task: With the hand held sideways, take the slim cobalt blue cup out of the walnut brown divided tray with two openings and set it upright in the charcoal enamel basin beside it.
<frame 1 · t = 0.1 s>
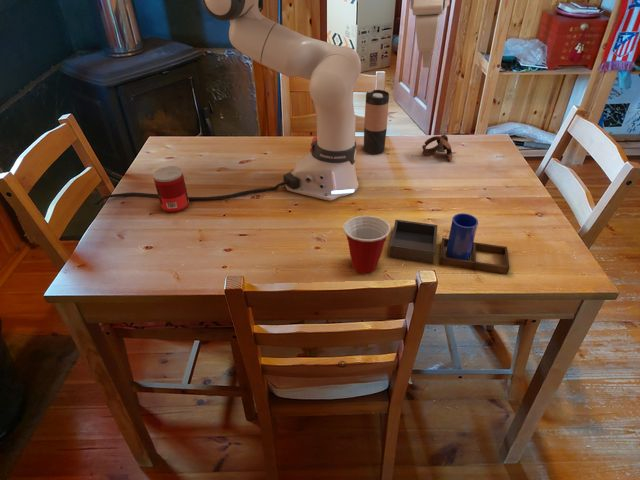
hand: (427, 60, 112), 39 cm above the table, tool pointing down, fingers open, 8 cm apart
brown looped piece: (437, 157, 154), on the table
plastic cup: (364, 266, 111), on the table
basin: (412, 246, 116), on the table
brown divided tray: (472, 258, 112), on the table
canned food: (175, 206, 133), on the table
blue cup: (457, 256, 113), resting in brown divided tray
travel mug: (373, 150, 159), on the table
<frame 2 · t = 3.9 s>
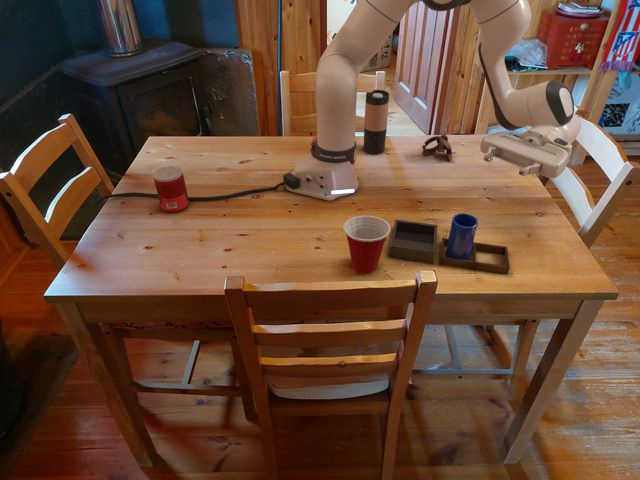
hand: (503, 165, 106), 21 cm above the table, tool horizontal, fingers open, 8 cm apart
nothing on the table moved.
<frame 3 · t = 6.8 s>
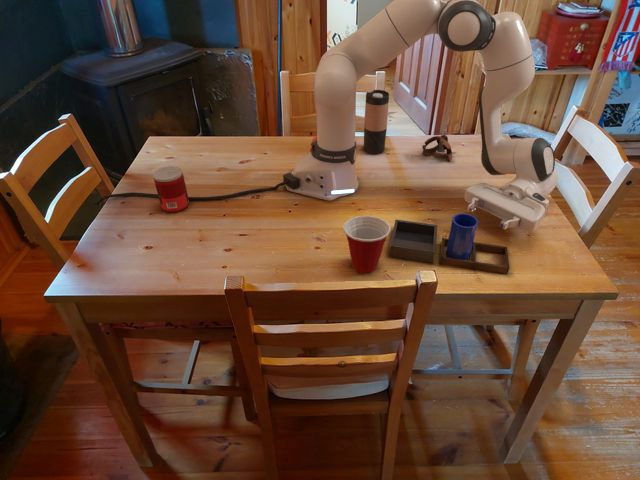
hand: (485, 217, 113), 7 cm above the table, tool horizontal, fingers open, 8 cm apart
nothing on the table moved.
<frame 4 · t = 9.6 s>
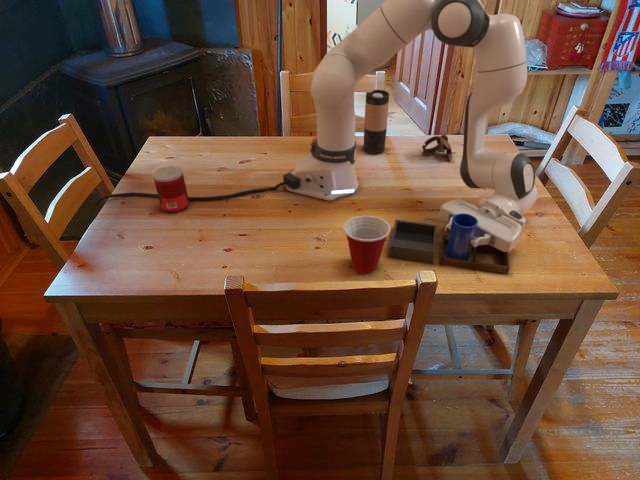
hand: (459, 236, 108), 7 cm above the table, tool horizontal, fingers closed on blue cup, 6 cm apart
blue cup: (457, 256, 113), resting in brown divided tray, touching gripper
everything else where it was.
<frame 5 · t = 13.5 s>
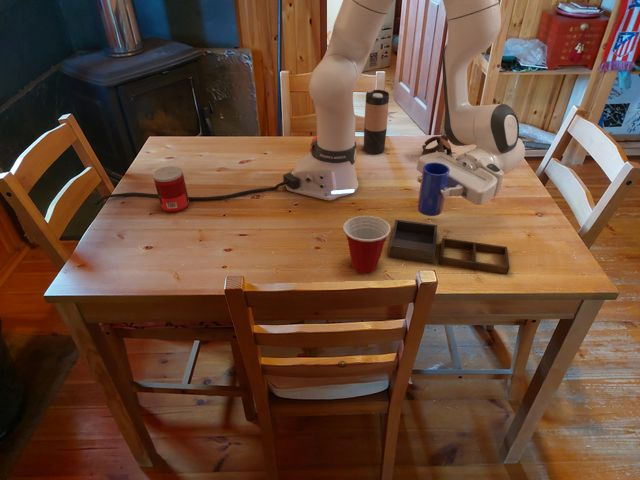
hand: (430, 186, 104), 19 cm above the table, tool horizontal, fingers closed on blue cup, 6 cm apart
blue cup: (429, 209, 108), point 12 cm above the table, touching gripper
everything else where it was.
when the fingers open (7 cm above the table, at t = 17.8 s): blue cup stays where it is, resting on basin.
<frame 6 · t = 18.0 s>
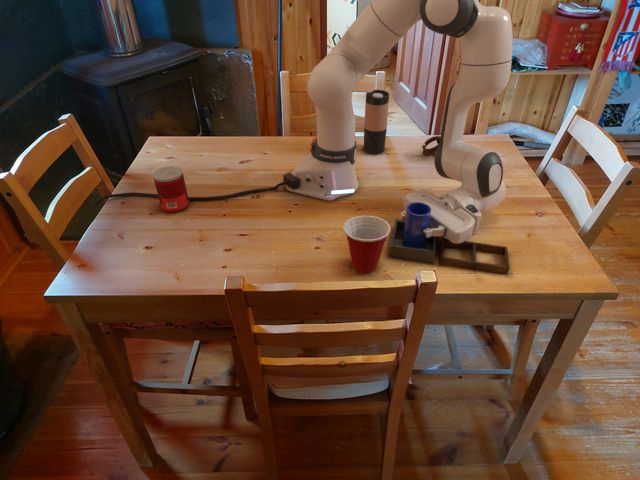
hand: (413, 225, 112), 7 cm above the table, tool horizontal, fingers open, 7 cm apart
blue cup: (413, 244, 116), point 1 cm above the table, touching basin
everything else where it was.
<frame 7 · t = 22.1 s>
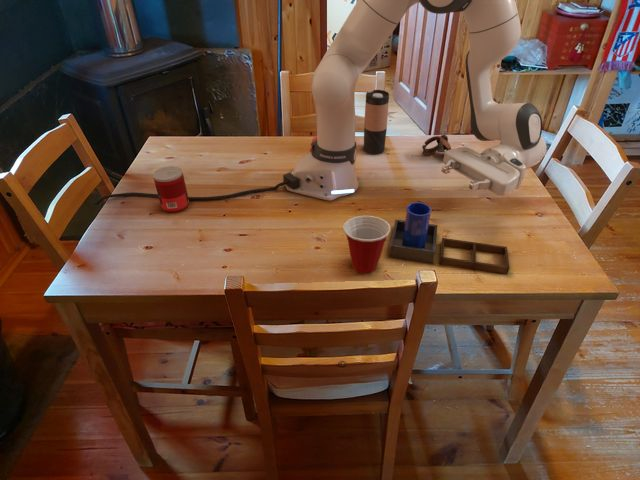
hand: (457, 178, 111), 16 cm above the table, tool horizontal, fingers open, 8 cm apart
nothing on the table moved.
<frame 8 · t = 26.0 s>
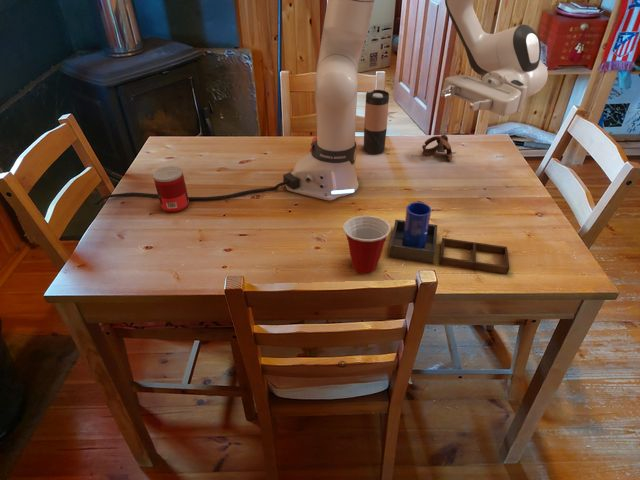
hand: (457, 100, 109), 32 cm above the table, tool horizontal, fingers open, 8 cm apart
nothing on the table moved.
at the end: blue cup inside the target area in the basin (0.1 cm from its centre), point 0.6 cm above the basin's base; blue cup tilted 0°; the gripper is holding nothing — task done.
